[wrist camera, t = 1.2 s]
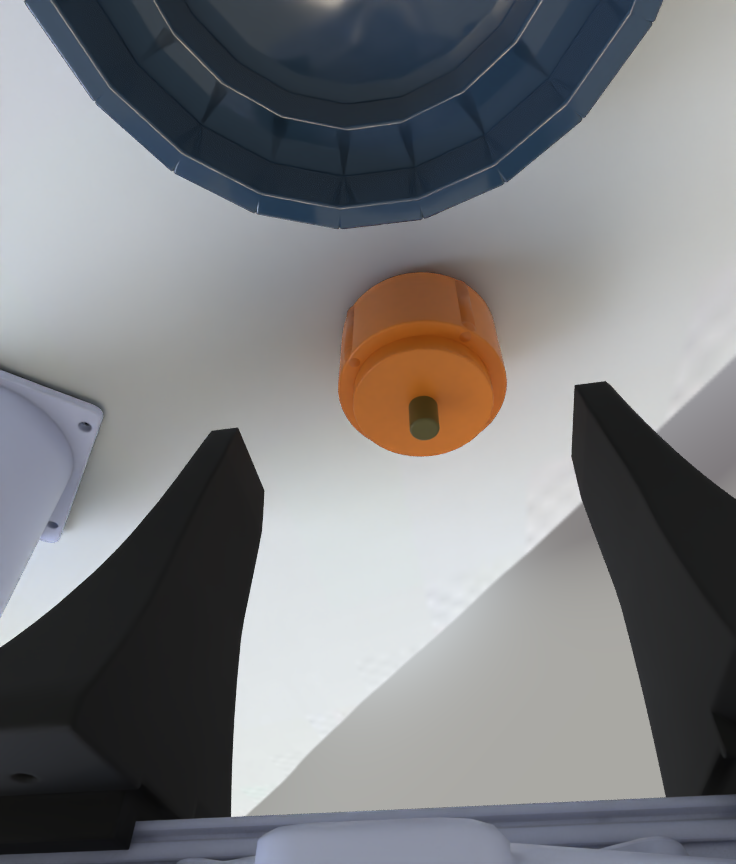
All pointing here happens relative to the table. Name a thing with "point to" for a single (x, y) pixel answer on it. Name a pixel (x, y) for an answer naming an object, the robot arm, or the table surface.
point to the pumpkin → (420, 365)
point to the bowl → (346, 92)
